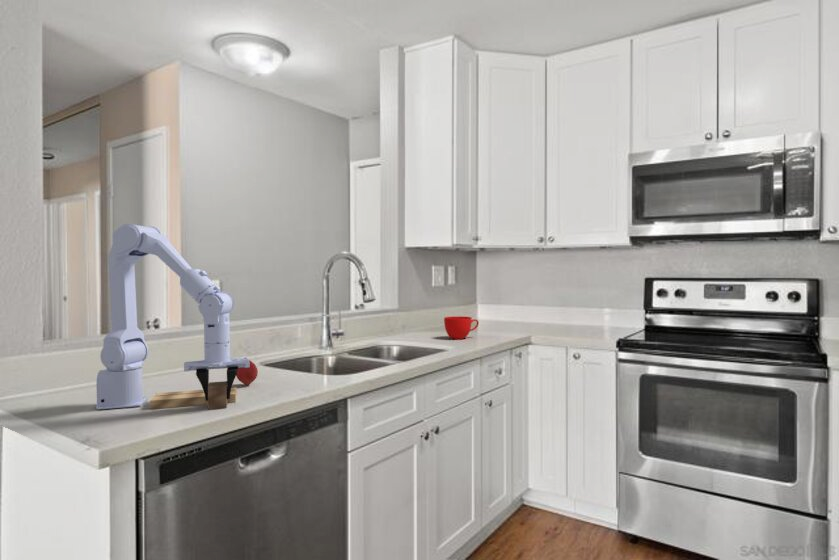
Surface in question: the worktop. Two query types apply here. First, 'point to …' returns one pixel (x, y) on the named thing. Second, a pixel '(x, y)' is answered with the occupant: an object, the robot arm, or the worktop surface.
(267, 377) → the worktop surface
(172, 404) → the board
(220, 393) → the brown wooden block
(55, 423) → the worktop surface
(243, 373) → the onion
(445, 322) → the ceramic cup
